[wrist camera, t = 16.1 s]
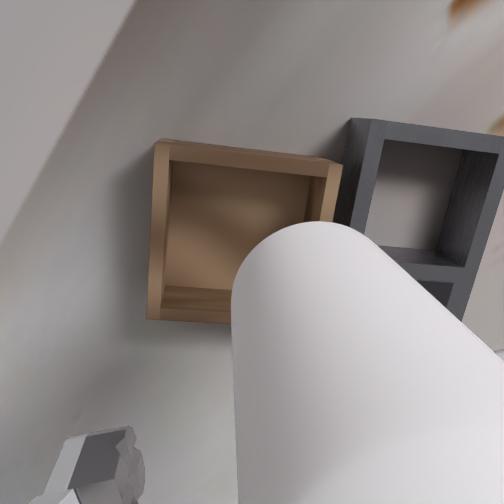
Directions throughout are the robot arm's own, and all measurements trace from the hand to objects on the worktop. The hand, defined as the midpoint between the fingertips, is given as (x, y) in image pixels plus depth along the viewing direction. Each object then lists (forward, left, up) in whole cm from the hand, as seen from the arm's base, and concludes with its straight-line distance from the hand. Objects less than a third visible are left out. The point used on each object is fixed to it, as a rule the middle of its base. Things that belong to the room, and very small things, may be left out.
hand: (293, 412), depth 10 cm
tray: (+1, +11, -19) cm, 22 cm away
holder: (0, 0, -19) cm, 19 cm away
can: (0, +2, -7) cm, 7 cm away
